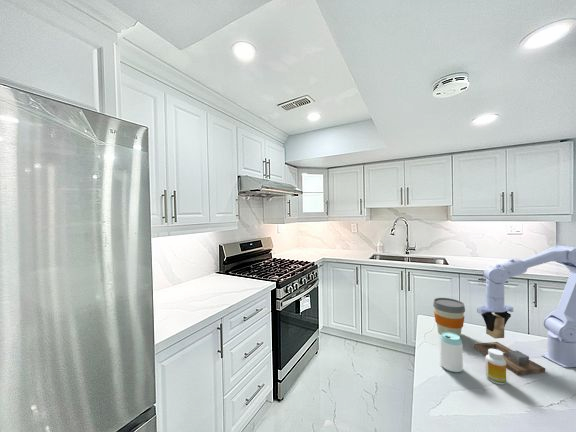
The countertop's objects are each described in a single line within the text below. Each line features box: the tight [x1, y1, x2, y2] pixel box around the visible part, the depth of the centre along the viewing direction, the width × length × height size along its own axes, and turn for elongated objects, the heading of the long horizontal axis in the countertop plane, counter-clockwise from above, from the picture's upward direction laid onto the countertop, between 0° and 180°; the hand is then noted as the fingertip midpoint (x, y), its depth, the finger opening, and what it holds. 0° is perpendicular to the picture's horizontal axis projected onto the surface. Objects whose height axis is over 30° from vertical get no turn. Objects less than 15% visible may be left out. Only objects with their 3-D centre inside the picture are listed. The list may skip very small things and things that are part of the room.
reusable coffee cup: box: [432, 297, 466, 337], centre depth 116 cm, size 12×13×15 cm
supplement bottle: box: [485, 348, 507, 385], centre depth 84 cm, size 5×5×10 cm
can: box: [439, 332, 464, 373], centre depth 91 cm, size 7×7×12 cm
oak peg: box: [485, 313, 505, 339], centre depth 100 cm, size 4×4×8 cm
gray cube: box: [508, 350, 530, 366], centre depth 91 cm, size 4×4×4 cm
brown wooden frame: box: [473, 341, 546, 376], centre depth 95 cm, size 11×18×2 cm, turn 6°
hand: (495, 329), depth 100 cm, fingers closed on oak peg, 4 cm apart
